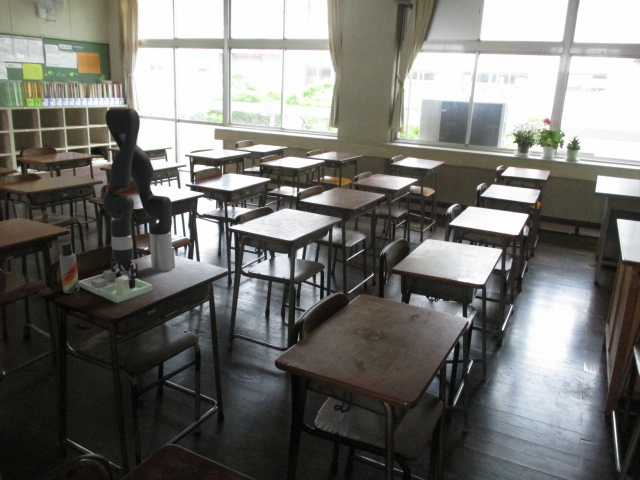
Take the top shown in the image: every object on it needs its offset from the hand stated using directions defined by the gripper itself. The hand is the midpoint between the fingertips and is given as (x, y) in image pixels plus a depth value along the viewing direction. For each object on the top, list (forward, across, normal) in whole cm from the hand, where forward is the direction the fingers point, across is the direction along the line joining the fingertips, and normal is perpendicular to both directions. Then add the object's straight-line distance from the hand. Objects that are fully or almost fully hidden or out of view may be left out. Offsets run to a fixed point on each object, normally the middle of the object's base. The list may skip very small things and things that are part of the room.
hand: (125, 285), depth 200 cm
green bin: (+4, 0, 0) cm, 4 cm away
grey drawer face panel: (+4, +14, -9) cm, 16 cm away
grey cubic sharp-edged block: (+3, +16, -4) cm, 17 cm away
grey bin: (+4, +14, 0) cm, 14 cm away
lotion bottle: (+4, +18, +12) cm, 22 cm away
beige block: (+3, 0, +1) cm, 3 cm away
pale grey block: (+3, +10, +5) cm, 12 cm away
